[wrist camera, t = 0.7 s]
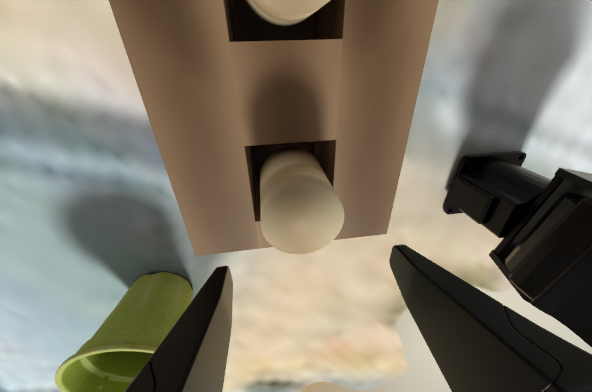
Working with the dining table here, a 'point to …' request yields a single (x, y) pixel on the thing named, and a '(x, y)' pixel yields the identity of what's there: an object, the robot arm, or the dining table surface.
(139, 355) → the plant pot
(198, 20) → the jig block
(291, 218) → the peg far
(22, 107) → the dining table surface
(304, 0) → the peg near
